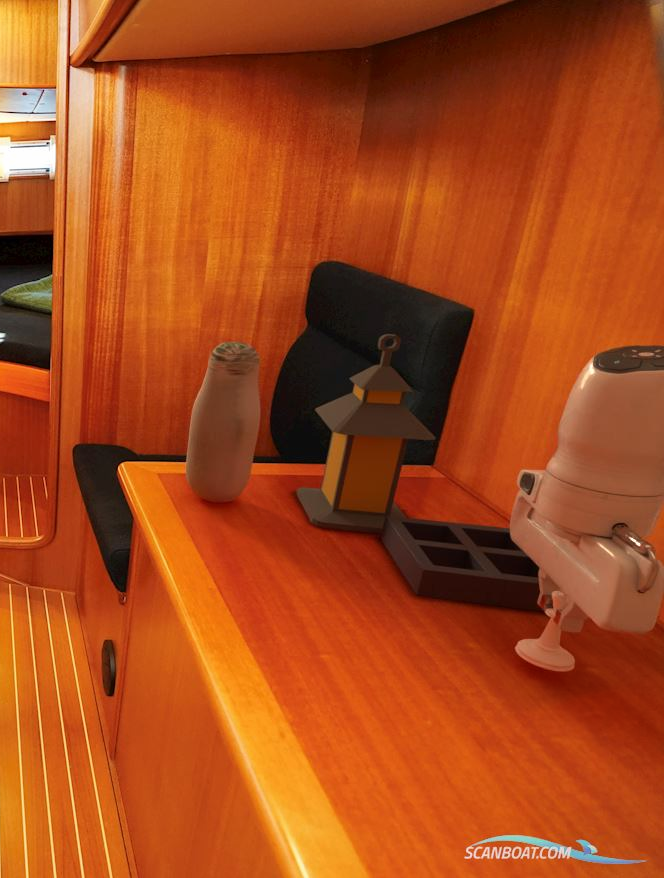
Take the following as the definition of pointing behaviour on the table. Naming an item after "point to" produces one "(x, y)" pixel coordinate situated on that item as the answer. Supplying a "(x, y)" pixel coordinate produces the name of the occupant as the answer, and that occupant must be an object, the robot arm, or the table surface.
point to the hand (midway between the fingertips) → (557, 618)
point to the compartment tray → (462, 562)
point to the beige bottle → (224, 424)
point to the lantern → (364, 450)
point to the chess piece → (548, 642)
